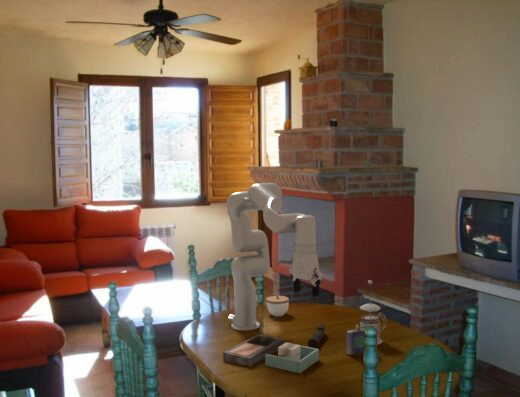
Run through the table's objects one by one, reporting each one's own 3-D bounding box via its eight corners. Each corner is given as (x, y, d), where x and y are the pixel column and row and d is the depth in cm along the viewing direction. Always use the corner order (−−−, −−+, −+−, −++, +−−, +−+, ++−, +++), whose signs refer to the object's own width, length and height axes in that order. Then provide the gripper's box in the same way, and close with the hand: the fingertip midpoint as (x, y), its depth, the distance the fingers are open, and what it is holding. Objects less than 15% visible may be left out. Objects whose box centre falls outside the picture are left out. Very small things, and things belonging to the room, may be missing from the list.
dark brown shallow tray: (223, 360, 203) (223, 351, 203) (258, 341, 223) (258, 333, 223) (250, 366, 197) (250, 357, 197) (283, 346, 217) (283, 338, 217)
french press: (365, 335, 229) (365, 276, 227) (390, 341, 221) (391, 280, 219) (353, 341, 221) (353, 280, 219) (379, 347, 214) (379, 284, 212)
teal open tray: (265, 365, 198) (265, 354, 197) (285, 352, 210) (285, 342, 210) (300, 373, 190) (300, 362, 190) (318, 359, 202) (318, 349, 202)
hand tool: (317, 349, 214) (317, 337, 213) (307, 348, 215) (307, 336, 215) (329, 334, 231) (329, 323, 231) (320, 333, 233) (320, 322, 232)
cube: (278, 363, 200) (278, 347, 199) (286, 358, 205) (286, 342, 204) (292, 366, 197) (292, 350, 196) (300, 361, 202) (300, 345, 201)
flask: (348, 355, 206) (348, 327, 205) (345, 353, 209) (345, 325, 208) (370, 352, 209) (370, 325, 208) (366, 350, 212) (366, 323, 211)
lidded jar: (261, 315, 259) (261, 295, 259) (275, 310, 268) (275, 291, 267) (279, 319, 253) (279, 299, 252) (293, 314, 261) (293, 294, 260)
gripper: (282, 247, 207) (283, 291, 208) (315, 252, 194) (316, 300, 195) (296, 245, 212) (297, 288, 213) (329, 249, 199) (330, 296, 200)
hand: (306, 294), depth 204 cm, fingers open, 9 cm apart
